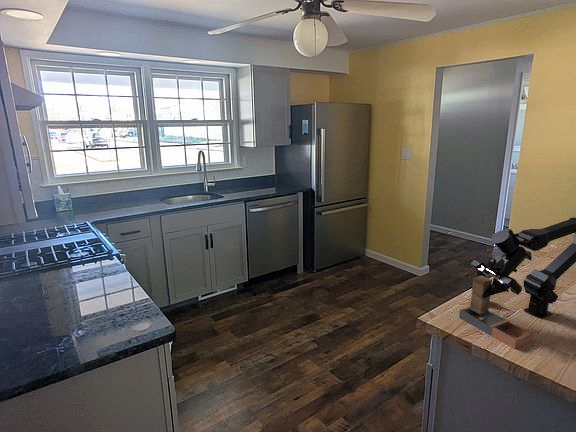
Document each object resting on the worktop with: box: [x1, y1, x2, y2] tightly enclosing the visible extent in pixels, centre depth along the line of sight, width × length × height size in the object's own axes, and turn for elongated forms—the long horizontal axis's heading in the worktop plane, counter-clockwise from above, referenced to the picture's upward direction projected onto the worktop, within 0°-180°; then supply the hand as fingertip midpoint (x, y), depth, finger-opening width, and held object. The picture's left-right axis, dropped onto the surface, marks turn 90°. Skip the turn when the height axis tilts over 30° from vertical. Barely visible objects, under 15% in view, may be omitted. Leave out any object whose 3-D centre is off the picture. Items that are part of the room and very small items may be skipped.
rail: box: [458, 306, 535, 350], centre depth 122 cm, size 8×21×3 cm, turn 24°
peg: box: [469, 276, 493, 314], centre depth 125 cm, size 4×4×12 cm
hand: (477, 293), depth 124 cm, fingers closed on peg, 5 cm apart
